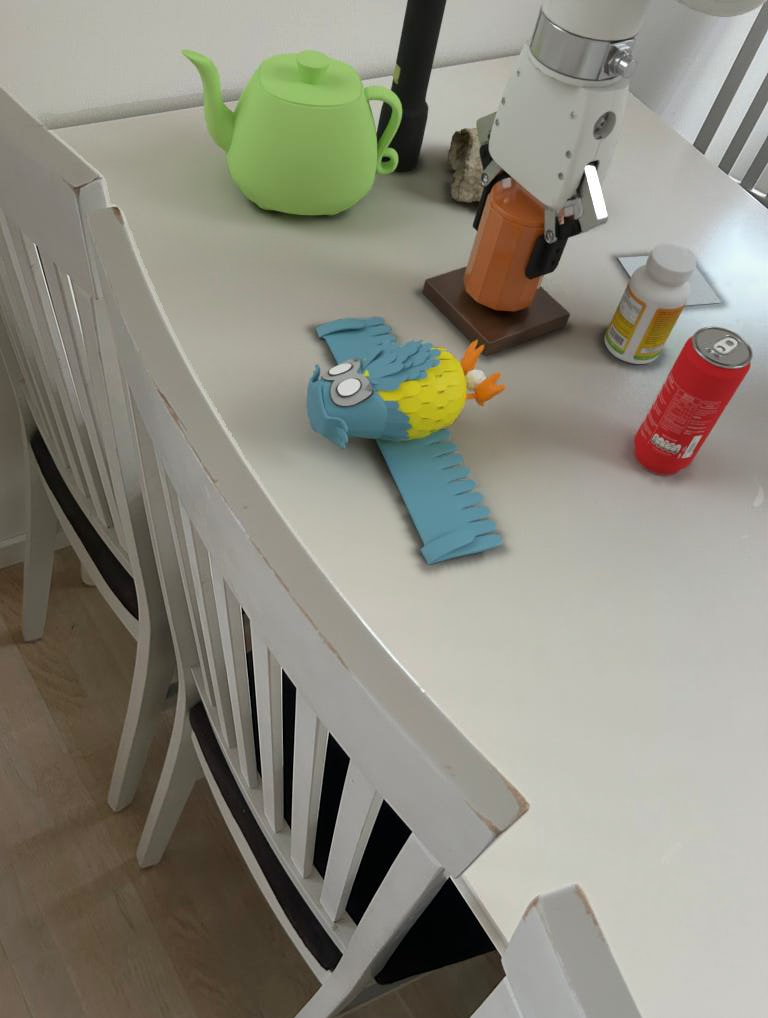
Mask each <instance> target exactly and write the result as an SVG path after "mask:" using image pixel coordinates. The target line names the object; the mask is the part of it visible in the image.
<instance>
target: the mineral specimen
mask: <svg viewBox="0 0 768 1018" xmlns="http://www.w3.org/2000/svg"><path fill="white" fill-rule="evenodd" d="M480 147H481V144H480V143H479V137H478V132H477V127H473V128H469V127H468V128H467V127H465V128H461V129H460V130H455V132H454V133H453V134H452V136H451V141H450V145H449V150H448V153H447V162H448V164H449V165H450V168H451V170H454V172H453V174H452V177H453V178H452V181H451V182H450V183H449V185H450V192H449V194H450V195H451V198H452V199H453V200H455V201H456V202H462V203H463V202H465V203H469V204H470V203H473V202H480V199H481V195H482V192H483V188H484V186H483V185H482V183H481V180H480V176H481V173H482V172H483V167H482V162H481V158H480V153H479V150H480ZM579 199H580V197H579Z"/></svg>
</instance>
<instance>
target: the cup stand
mask: <svg viewBox="0 0 768 1018" xmlns="http://www.w3.org/2000/svg"><path fill="white" fill-rule="evenodd" d="M466 268H467V265H466V266H463V267H460V268H457V269H454V270H451V271H447V272H445V273H442V274H437V275H435V276H432V277H430V278H429V277H428V278H426V279H425V280H424V283H423V287H422V291H421V293H422V294H423V295H424V296H425V297H426V298H427V299H428V300H429V301H430V302H431V303H432V304H433V305H434V306H435V307H436V308H437V309H438V310H439V311H440V312H441V313H442V314H443V315H444V316H445V317H446V319H448V321H450V322H451V323H452V325H454V326H455V327H456V329H458V331H460V332H461V334H462V335H464V337H465V338H467V339H468V340H469V342H471V343H472V342H473V341H476V340H477V339H478V343H477V345H476V347H475V348H476V349H477V348H479V347H480V346H481V345H484V348H483V351H482V352H481V354H483V355H484V356H485V357H486V356H489V355H491V354H494V353H496V352H499V351H502V350H505V349H507V348H510V347H513V346H517V345H518V344H520V343H524V342H526V341H529V340H532V339H535V338H538V337H540V336H543V335H545V334H548V333H551V332H553V331H557V330H560V329H562V328H565V327H566V326H567V324H568V321H569V320H570V319H569V318H570V316H571V313H570V312H569V311H568V310H567V309H566V308H565V307H564V306H563V305H562V304H560V303H559V302H558V301H557V300H556V299H555V298H554V297H553V296H552V295H551V294H550V293H549V292H548V291H547V290H545V289H544V287H542V286H541V285H540V288H539V290H538V293H537V296H536V297H535V299H534V300H533V302H532V304H531V305H530V306H529V307H526V308H523V309H520V310H518V311H500V310H494V309H492V308H489V307H487V306H484V305H482V304H480V303H478V302H476V301H475V300H474V299H473V298H472V297H471V296H470V295H469V294H468V293H467V292H466V290H465V285H464V280H463V278H464V274H465V271H466Z"/></svg>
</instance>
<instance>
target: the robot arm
mask: <svg viewBox="0 0 768 1018" xmlns="http://www.w3.org/2000/svg"><path fill="white" fill-rule="evenodd" d="M651 1H652V0H542V1H541V5H540V7H539V11H538V14H537V17H536V21H535V25H534V28H533V31H532V35H531V37H530V38H528V39H527V41H525V43H524V46H522V50H521V51H520V53H519V55H518V57H517V59H516V61H515V63H514V65H513V68H512V70H511V72H510V75H509V77H508V80H507V82H506V85H505V88H504V90H503V93H502V95H501V99H500V101H499V104H498V107H497V109H496V111H494V112H492V113H489V114H487V115H484V116H482V117H479V118H478V119H477V120H476V122H475V123H476V128H477V132H478V137H479V143H480V144H481V147H480V150H479V153H480V158H481V162H482V167H483V172H482V173H481V176H480V180H481V183H482V185H483V186H484V188H483V192H482V195H481V199H480V202H479V201H478V202H479V203H478V206H477V209H476V213H475V216H474V219H473V222H472V228H473V229H474V230H475V231H476V232H477V231H478V227H479V224H480V220H481V217H482V214H483V210H484V207H485V204H486V200H487V197H488V195H489V193H490V192H491V190H492V187H493V186H494V185H495V184H496V183H497V182H498V181H500V180H503V179H506V178H511V177H512V178H513V179H515V180H516V181H517V182H518V183H519V184H520V185H521V186H523V187H524V188H525V189H526V190H527V191H528V192H530V193H531V194H532V195H533V196H534V197H535V198H537V199H538V200H539V201H540V202H541V203H543V204H544V235H541V236H539V237H538V238H537V239H536V242H535V245H534V248H533V251H532V253H531V256H530V259H529V262H528V265H527V268H526V270H525V276H526V277H527V278H528V279H529V280H531V279H534V278H537V277H540V276H543V275H544V276H546V275H548V274H549V275H550V274H552V273H553V272H554V271H555V270H556V269H557V267H558V266H559V264H560V261H561V259H562V256H563V253H564V250H565V248H566V246H567V243H568V240H569V238H572V237H575V236H578V235H581V234H584V233H587V232H589V231H591V230H594V229H596V228H598V227H600V226H602V225H605V224H606V223H607V222H608V220H609V214H608V209H607V207H606V202H605V198H604V195H603V191H602V187H603V185H604V184H605V183H604V182H605V180H606V177H607V175H608V171H609V169H610V165H611V162H612V159H613V157H614V153H615V150H616V147H617V143H618V141H619V137H620V133H621V129H622V125H623V121H624V117H625V112H626V107H627V101H628V96H629V95H628V94H629V89H630V80H629V78H631V77H632V76H633V75H634V74H635V72H636V71H637V68H638V63H639V62H638V60H636V59H635V58H633V55H632V52H633V50H634V47H635V45H636V42H637V39H638V37H639V34H640V31H641V29H642V26H643V22H644V20H645V18H646V15H647V13H648V10H649V7H650V4H651ZM674 1H676V2H677V3H679V4H681V5H683V6H685V7H688V8H689V9H691V10H693V11H696V12H698V13H701V14H703V15H708V16H712V17H718V18H733V17H737V16H741V15H744V14H747V13H749V12H752V11H754V10H756V9H758V8H759V7H761V6H763V5H764V4H765V3H766V2H767V1H768V0H674ZM579 197H580V198H579ZM580 203H581V207H582V213H581V215H579V213H580V212H579V207H580ZM563 208H564V223H563V224H560V225H559V210H561V209H563Z"/></svg>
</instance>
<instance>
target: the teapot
mask: <svg viewBox="0 0 768 1018" xmlns="http://www.w3.org/2000/svg"><path fill="white" fill-rule="evenodd" d="M181 53H182V55H183V56H184V57H185V58H187V59H188V60H189V61H190V62H191V64H192V65H193V66H194V67H195V68H196V70H197V72H198V73H199V76H200V79H201V82H202V91H203V112H204V119H205V124H206V128H207V131H208V133H209V136H210V137H211V139H212V140H213V141H214V143H215V144H216V146H217V147H219V148H220V149H222V150H223V151H224V152H225V159H226V163H227V168H228V171H229V173H230V176H231V178H232V180H233V182H234V183H235V184H236V186H237V187H238V189H239V190H240V191H241V193H242V194H243V195H244V196H245V197H246V198H247V199H248V200H250V201H251V202H252V203H255V204H256V205H257V207H259V208H260V209H263V210H266V211H276V212H280V213H284V214H291V215H300V216H324V215H325V216H335V215H337V214H339V213H341V212H344V211H347V210H348V209H350V208H353V206H355V205H356V204H357V203H358V202H360V201H361V200H362V199H363V197H365V196H366V195H367V194H368V193H369V191H370V190H371V189H372V187H373V185H374V182H375V179H376V174H377V175H381V176H386V175H389V174H392V173H393V172H395V171H394V170H395V169H396V167H397V164H398V154H397V152H396V151H395V150H394V149H392V148H388V146H389V144H390V142H391V141H392V139H393V137H394V135H395V133H396V132H397V129H398V127H399V125H400V122H401V118H402V106H401V102H400V100H399V98H398V97H397V95H396V94H395V93H394V92H392V91H391V88H388V87H385V86H382V85H371V86H369V85H368V86H366V87H365V86H364V83H363V81H362V78H361V76H360V74H359V73H358V71H357V70H356V69H355V68H354V67H353V66H352V65H350V64H348V63H347V62H344V61H342V60H339V59H337V58H333V57H330V56H328V55H327V54H325V53H324V52H322V51H321V52H320V51H318V50H310V49H309V50H308V49H307V50H302V51H299V52H293V53H291V52H290V53H279V54H276V55H272V56H269V57H267V58H266V59H265V60H263V61H262V62H261V63H260V64H259V65H258V67H257V68H256V70H254V72H253V74H252V75H251V77H250V79H249V80H248V82H247V84H246V85H245V87H244V89H243V91H242V93H241V95H240V97H239V99H238V101H237V103H236V106H235V108H234V110H231V109H230V108H229V107H228V106H227V105H226V104H225V103H224V100H223V98H222V90H221V89H222V88H221V78H220V74H219V71H218V67H217V66H216V64H215V63H214V62H213V60H211V58H209V57H207V56H206V55H204V54H202V53H199V52H197V51H193V50H190V49H182V50H181ZM370 101H380V102H383V101H384V102H386V103H388V104H389V105H390V106H391V107H392V115H391V119H390V121H389V123H388V126H387V128H386V129H385V131H384V133H383V135H382V137H381V138H380V140H379V142H378V144H377V135H376V133H377V128H376V123H375V119H374V115H373V114H374V113H373V111H372V106H371V103H370ZM382 157H390V158H391V160H390V161H388V162H381V159H382Z"/></svg>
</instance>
